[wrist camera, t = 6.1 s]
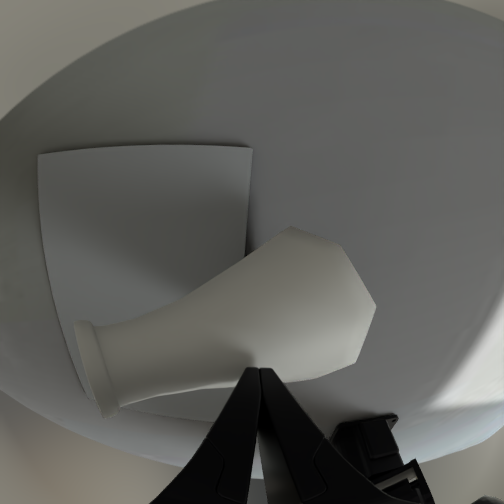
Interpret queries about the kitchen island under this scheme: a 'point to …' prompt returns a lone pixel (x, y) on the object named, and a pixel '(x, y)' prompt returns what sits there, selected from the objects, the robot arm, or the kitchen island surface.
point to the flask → (236, 326)
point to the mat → (141, 239)
